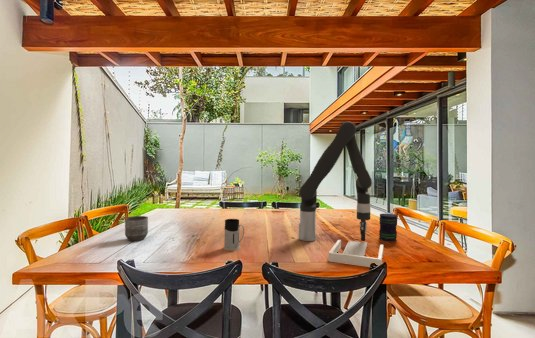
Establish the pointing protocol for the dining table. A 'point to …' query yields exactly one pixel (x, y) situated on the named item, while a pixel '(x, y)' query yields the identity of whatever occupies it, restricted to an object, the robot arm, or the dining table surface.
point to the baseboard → (355, 248)
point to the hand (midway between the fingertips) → (363, 240)
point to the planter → (136, 228)
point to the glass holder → (232, 235)
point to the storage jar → (388, 227)
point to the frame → (353, 257)
